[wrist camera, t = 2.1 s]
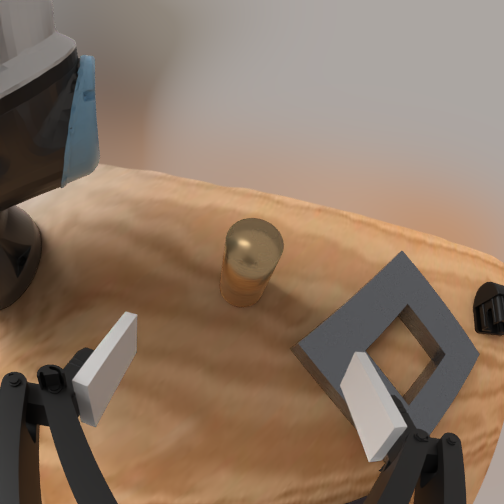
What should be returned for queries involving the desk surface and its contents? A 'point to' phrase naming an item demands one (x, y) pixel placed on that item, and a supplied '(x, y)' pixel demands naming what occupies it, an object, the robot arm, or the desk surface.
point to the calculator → (358, 501)
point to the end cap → (489, 309)
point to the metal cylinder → (249, 260)
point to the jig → (374, 323)
